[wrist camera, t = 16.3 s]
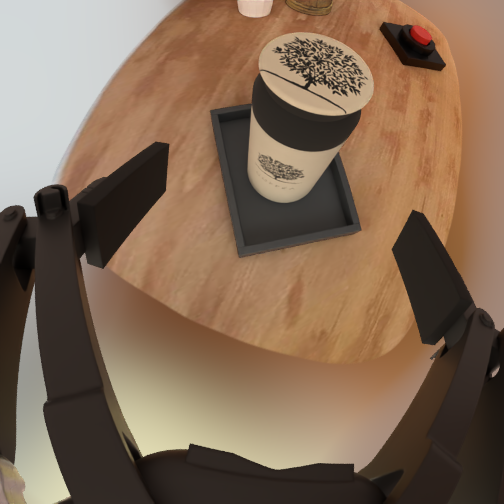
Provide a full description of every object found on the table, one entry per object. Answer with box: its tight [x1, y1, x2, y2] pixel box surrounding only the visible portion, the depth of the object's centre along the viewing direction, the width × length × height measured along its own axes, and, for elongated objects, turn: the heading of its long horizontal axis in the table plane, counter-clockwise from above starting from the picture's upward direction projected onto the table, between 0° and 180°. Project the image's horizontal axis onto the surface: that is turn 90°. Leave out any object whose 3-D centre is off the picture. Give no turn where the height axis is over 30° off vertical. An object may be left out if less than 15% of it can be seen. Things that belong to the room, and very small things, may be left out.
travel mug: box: [247, 32, 374, 203], centre depth 24 cm, size 8×8×18 cm
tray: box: [210, 104, 361, 258], centre depth 32 cm, size 18×14×2 cm
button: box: [410, 25, 432, 45], centre depth 33 cm, size 4×4×2 cm
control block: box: [380, 22, 446, 71], centre depth 36 cm, size 10×10×4 cm
